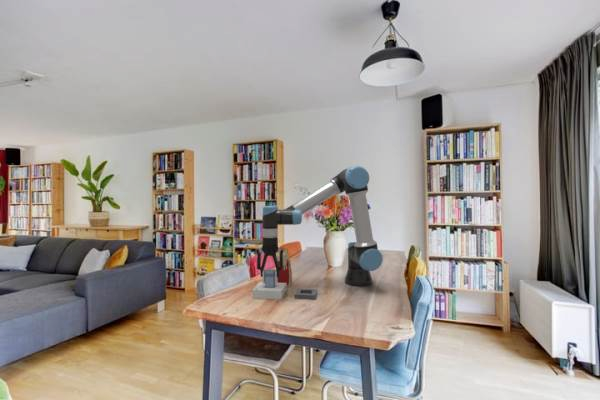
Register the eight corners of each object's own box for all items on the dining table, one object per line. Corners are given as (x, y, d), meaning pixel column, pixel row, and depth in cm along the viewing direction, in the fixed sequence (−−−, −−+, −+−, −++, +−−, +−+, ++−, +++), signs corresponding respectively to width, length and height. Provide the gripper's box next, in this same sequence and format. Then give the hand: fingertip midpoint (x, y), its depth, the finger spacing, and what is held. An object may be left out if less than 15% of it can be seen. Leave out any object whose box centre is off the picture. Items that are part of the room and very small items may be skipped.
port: (286, 290, 152) (286, 282, 152) (281, 299, 138) (281, 290, 138) (260, 289, 153) (260, 281, 153) (252, 298, 139) (252, 289, 139)
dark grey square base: (317, 293, 148) (317, 289, 148) (315, 299, 138) (315, 295, 138) (297, 292, 149) (297, 288, 149) (294, 298, 139) (294, 294, 139)
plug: (275, 293, 147) (275, 269, 147) (273, 295, 143) (273, 271, 143) (267, 293, 148) (267, 269, 148) (265, 295, 144) (265, 271, 144)
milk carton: (292, 282, 168) (292, 247, 168) (290, 286, 159) (290, 249, 159) (276, 281, 169) (276, 246, 169) (273, 286, 160) (273, 249, 160)
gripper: (289, 236, 148) (289, 282, 148) (254, 235, 151) (254, 281, 150) (287, 238, 141) (287, 286, 141) (249, 237, 143) (249, 285, 143)
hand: (270, 283), depth 146 cm, fingers open, 5 cm apart
